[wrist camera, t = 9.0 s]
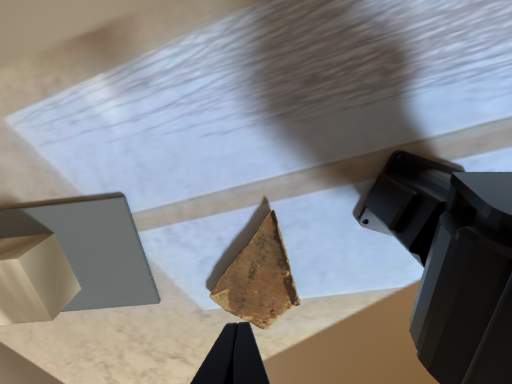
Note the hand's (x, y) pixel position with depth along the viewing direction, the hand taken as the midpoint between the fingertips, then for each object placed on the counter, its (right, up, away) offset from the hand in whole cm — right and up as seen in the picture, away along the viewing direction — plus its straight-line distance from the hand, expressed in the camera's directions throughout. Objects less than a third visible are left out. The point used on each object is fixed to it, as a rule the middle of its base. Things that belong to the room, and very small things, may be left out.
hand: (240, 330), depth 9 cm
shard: (0, -2, +15) cm, 15 cm away
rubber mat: (-17, -1, +14) cm, 22 cm away
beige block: (-16, -2, +12) cm, 20 cm away
